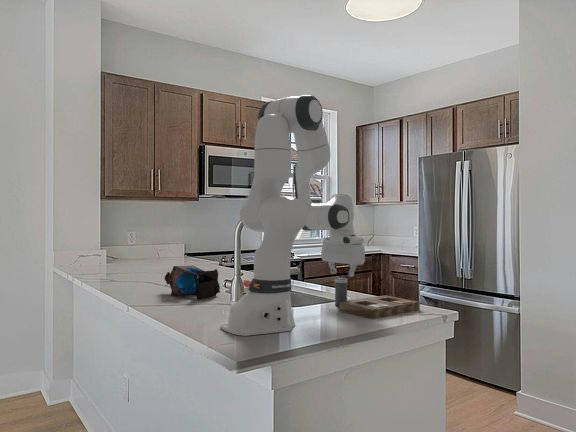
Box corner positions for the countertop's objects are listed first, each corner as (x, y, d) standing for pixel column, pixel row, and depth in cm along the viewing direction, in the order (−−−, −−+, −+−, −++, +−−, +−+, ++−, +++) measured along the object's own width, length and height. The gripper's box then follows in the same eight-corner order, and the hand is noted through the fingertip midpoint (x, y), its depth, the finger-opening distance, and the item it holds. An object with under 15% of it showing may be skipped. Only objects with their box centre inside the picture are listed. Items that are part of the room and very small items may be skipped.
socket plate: (372, 319, 146) (372, 308, 146) (339, 310, 159) (339, 301, 159) (419, 310, 160) (419, 301, 160) (385, 303, 173) (385, 294, 173)
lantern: (210, 313, 181) (166, 303, 194) (229, 280, 189) (185, 272, 202) (190, 291, 170) (144, 282, 183) (210, 257, 178) (166, 250, 192)
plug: (340, 307, 165) (340, 279, 165) (332, 305, 168) (332, 278, 168) (349, 305, 167) (350, 278, 167) (341, 303, 171) (341, 277, 171)
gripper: (317, 237, 174) (317, 272, 175) (354, 239, 158) (355, 279, 158) (329, 236, 178) (329, 271, 178) (367, 238, 162) (367, 277, 162)
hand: (342, 274), depth 168 cm, fingers open, 8 cm apart
